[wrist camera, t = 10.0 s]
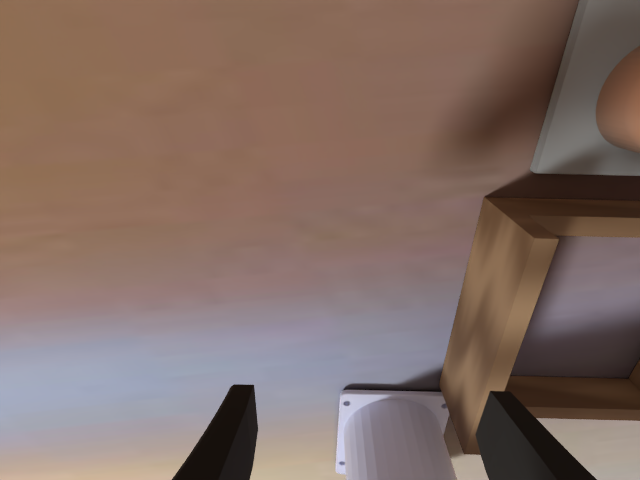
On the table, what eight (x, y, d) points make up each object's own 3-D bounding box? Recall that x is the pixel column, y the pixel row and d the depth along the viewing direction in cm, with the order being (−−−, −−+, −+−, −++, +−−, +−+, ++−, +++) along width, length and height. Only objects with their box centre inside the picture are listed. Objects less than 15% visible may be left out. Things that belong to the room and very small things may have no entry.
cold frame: (636, 389, 25) (705, 460, 20) (438, 384, 25) (464, 454, 20) (748, 203, 18) (883, 246, 14) (484, 196, 19) (534, 238, 14)
